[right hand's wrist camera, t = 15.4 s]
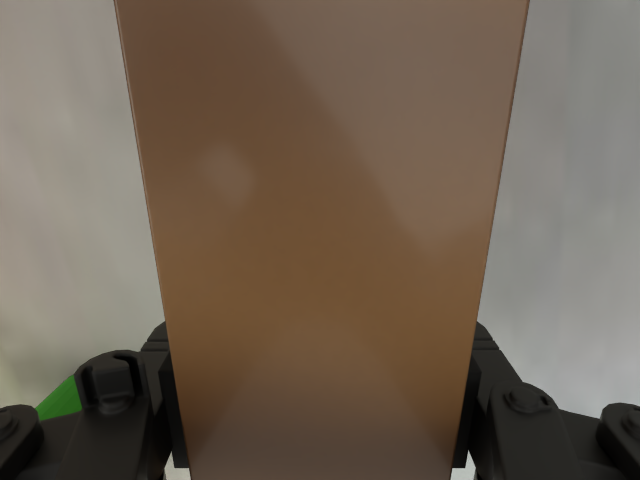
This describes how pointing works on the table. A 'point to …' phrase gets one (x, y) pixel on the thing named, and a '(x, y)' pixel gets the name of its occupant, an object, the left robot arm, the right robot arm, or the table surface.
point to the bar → (321, 221)
